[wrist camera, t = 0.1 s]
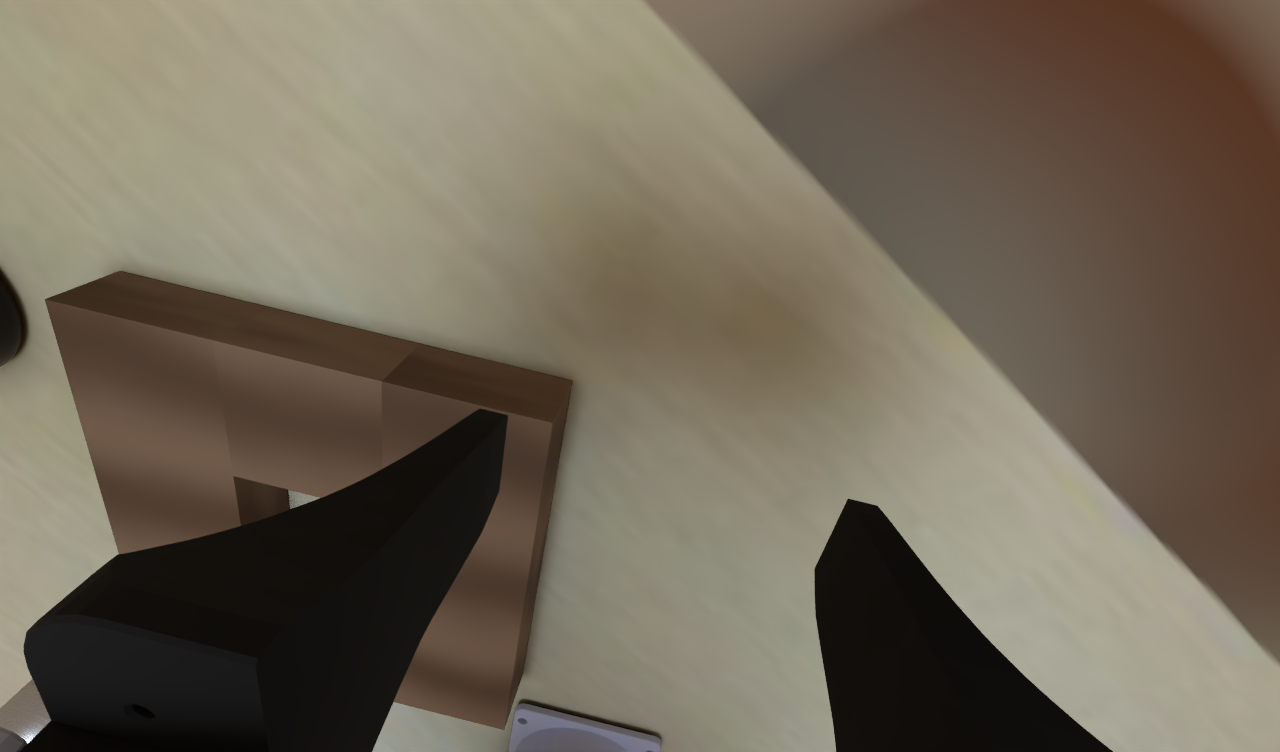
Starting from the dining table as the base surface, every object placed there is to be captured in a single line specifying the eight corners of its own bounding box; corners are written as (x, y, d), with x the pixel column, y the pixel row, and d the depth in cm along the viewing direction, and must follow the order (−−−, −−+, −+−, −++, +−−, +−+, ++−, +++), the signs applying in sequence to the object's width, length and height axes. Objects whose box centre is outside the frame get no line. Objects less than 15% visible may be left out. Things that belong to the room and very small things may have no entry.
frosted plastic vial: (176, 664, 36) (64, 790, 30) (110, 647, 36) (-15, 770, 30) (164, 618, 34) (41, 743, 28) (94, 601, 35) (-43, 722, 28)
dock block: (522, 674, 33) (503, 729, 30) (190, 590, 33) (143, 638, 30) (572, 380, 24) (552, 423, 21) (119, 271, 24) (44, 299, 22)
